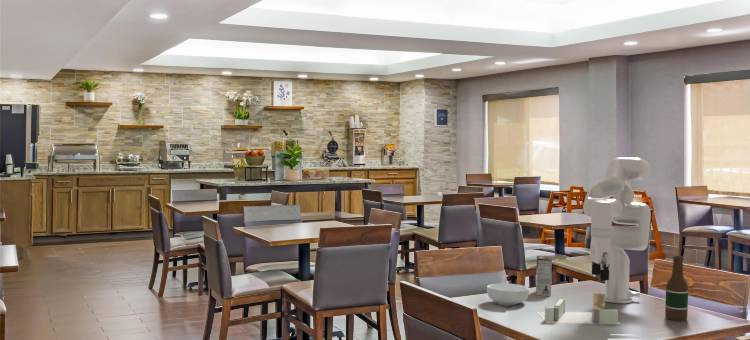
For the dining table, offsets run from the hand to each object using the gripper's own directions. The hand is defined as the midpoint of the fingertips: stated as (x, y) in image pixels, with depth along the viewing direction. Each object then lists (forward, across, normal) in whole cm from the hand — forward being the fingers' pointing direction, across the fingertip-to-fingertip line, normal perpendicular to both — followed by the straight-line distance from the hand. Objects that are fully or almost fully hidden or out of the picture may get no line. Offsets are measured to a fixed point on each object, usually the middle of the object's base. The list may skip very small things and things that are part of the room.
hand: (600, 277), depth 270 cm
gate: (+14, +2, -16) cm, 21 cm away
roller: (+14, +1, 0) cm, 15 cm away
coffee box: (+16, -39, -11) cm, 44 cm away
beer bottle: (+16, +3, +29) cm, 33 cm away
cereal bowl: (+15, -19, -31) cm, 40 cm away
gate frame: (+15, +5, -10) cm, 18 cm away
